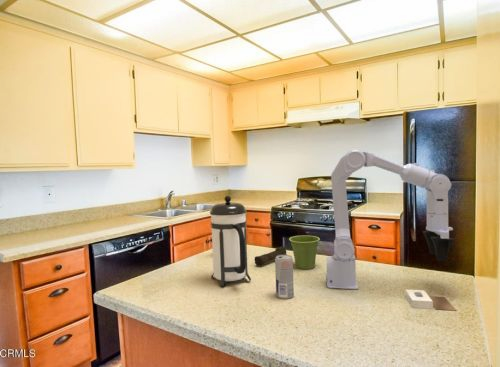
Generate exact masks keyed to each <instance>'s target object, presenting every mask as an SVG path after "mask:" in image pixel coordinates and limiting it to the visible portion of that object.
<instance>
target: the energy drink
mask: <svg viewBox="0 0 500 367" xmlns="http://www.w3.org/2000/svg"><path fill="white" fill-rule="evenodd" d="M274 263H275V265H274V268H275V294H276V295H275V296H277V297H276V298H278V299H281V300H288V299H292V298H293V297H294V295H295V294H294V292H295V290H294V289H295V288H294V286H295V285H294V259H293V256H291V255H288V254H287V255H278V256H276V259H274Z"/></svg>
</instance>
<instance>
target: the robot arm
mask: <svg viewBox="0 0 500 367" xmlns="http://www.w3.org/2000/svg"><path fill="white" fill-rule="evenodd" d="M363 167H364V168H368V167H376V168H378V169H379V168H380V169H381V170H386V171H388V172H391V173H393V174H396V175H398V176H399V177H400V179H401V181H402V182H406V183H409V184H411V185H413V186H416V187H419V188H421V189H425V190H426V198H425V199H426V200H425V201H426V226H425V230H423V231H422V233H423V236H424V238H425V240H426V243H427V246H428V250H429V254H430V255H435V256H436V260H437V261H438V262H446V261H447V258H448V254H449V252H450V248H451V247H452V244H453V243H454V241H455V238H454V237H450V231H454V228H453V227H452V226H449V193H448V192H449V191H450V189H451V187H452V183H451V180H450V178H449V177H448V176H447V175H445V174H442V173H437V172H436V171H435V169H430V170H429V169H427V168H424V167H422V166H420V164H419V163H416V162H414V163H407V164H405V165H404V164H402V163H399V162H396V161H393V160H391V159H388V158H386V157H384V156H381V155H379V154H376V153H372V152H368V151H361V150H360V149H350V150H349V151H347V152H346V153H345V154H344V155H343V156H342V157H341V158H340V159H339V161H338V162H337V164H336V165H335V167H334V169H333V171H332V173H331V176H330V179H331V189H332V190H331V193H332V194H331V195H332V203H333V204H332V205H333V207H332V208H333V217H334V230H335V238H334V241H333V252H334V253H333V254H332V257H326V273H325V281H326V287H327V288H328V289H342V290H343V289H344V290H345V289H347V290H358V289H359V286H358V281H357V271H356V269H357V268H356V267H357V266H356V255H355V252H356V251H355V247H354V242H353V240H352V238H351V231H350V221H349V209H348V205H349V204H348V194H347V182H346V181H347V180H348V178H350V176H352V174H353V173H355V172H357V171H359V170H361V168H363Z"/></svg>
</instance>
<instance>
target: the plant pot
mask: <svg viewBox="0 0 500 367" xmlns="http://www.w3.org/2000/svg"><path fill="white" fill-rule="evenodd" d="M288 240H289V242H290V244H291V247H292V252H293V258H294V262H295V267H296V268H297V269H301V270H310V269H313V268H315V266H316V258H317V251H318V246H319V241H320V240H321V239H320V237H318V236H316V235H303V234H302V235H295V236H294V235H293V236H290V237H288Z"/></svg>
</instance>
